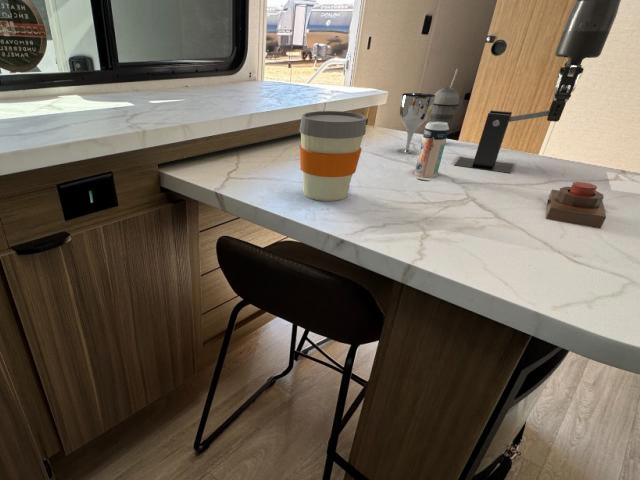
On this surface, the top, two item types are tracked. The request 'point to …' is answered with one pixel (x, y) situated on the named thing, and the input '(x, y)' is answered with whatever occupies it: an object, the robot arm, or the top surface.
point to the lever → (529, 116)
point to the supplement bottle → (431, 149)
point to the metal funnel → (415, 112)
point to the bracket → (490, 145)
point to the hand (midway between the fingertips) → (552, 118)
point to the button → (583, 189)
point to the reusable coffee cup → (330, 152)
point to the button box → (576, 208)
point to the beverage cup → (445, 104)
